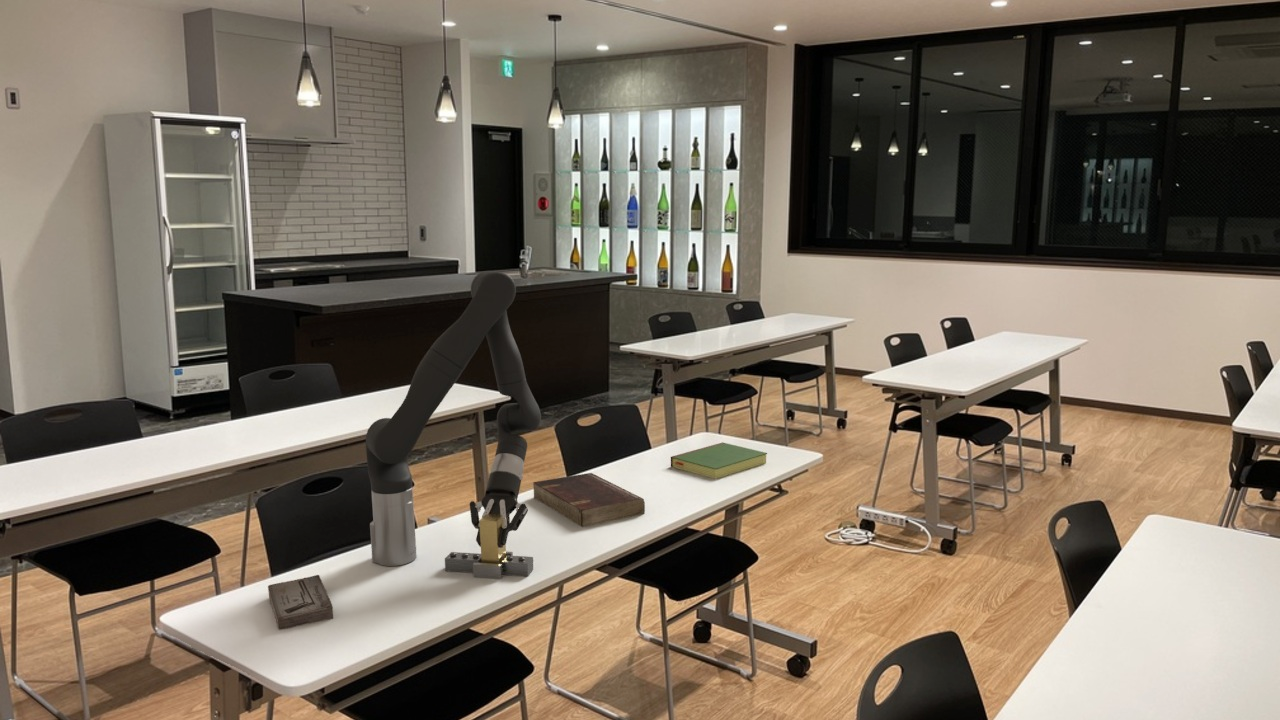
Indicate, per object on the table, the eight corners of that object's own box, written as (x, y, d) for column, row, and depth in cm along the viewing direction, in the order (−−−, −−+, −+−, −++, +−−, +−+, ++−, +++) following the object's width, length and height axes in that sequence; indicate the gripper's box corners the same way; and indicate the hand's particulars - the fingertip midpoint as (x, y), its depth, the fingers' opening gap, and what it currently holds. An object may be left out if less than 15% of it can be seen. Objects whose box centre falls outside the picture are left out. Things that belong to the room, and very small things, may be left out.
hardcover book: (722, 453, 309) (722, 442, 308) (767, 464, 295) (767, 453, 295) (669, 468, 292) (669, 457, 291) (713, 481, 278) (713, 469, 278)
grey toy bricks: (441, 574, 210) (440, 560, 209) (455, 560, 218) (455, 546, 217) (524, 580, 206) (524, 565, 206) (536, 565, 214) (535, 551, 214)
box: (320, 586, 204) (318, 573, 203) (334, 619, 189) (333, 605, 188) (267, 598, 199) (266, 584, 198) (278, 632, 184) (276, 618, 183)
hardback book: (644, 515, 249) (644, 497, 248) (582, 528, 240) (581, 510, 239) (592, 487, 274) (592, 471, 273) (533, 499, 264) (533, 482, 263)
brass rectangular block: (481, 563, 210) (479, 520, 208) (489, 554, 214) (487, 513, 213) (498, 564, 209) (496, 521, 207) (506, 555, 214) (503, 513, 212)
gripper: (471, 468, 217) (454, 537, 207) (530, 470, 214) (516, 540, 205) (481, 483, 223) (464, 551, 213) (538, 485, 220) (524, 554, 211)
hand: (490, 545), depth 209 cm, fingers closed on brass rectangular block, 4 cm apart
